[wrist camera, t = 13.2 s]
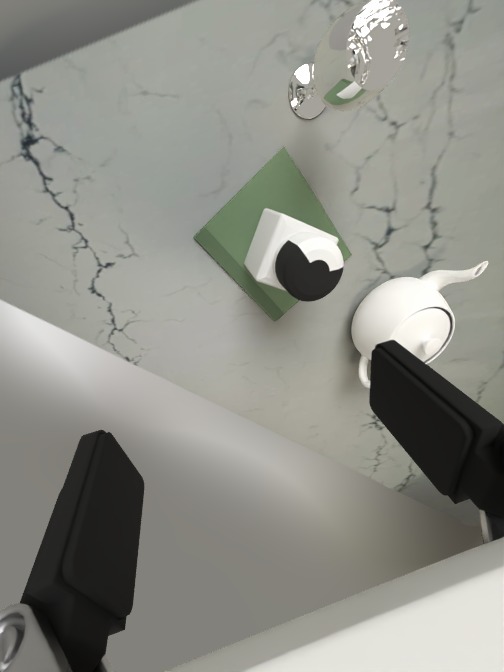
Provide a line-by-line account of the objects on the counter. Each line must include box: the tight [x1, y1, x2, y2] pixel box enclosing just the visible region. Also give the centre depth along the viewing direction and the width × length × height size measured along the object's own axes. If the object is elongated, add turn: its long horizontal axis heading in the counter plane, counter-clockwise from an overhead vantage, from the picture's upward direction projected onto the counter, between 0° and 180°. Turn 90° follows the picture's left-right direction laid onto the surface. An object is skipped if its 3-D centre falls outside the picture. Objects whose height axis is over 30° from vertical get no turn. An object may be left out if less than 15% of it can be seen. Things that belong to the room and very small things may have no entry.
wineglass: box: [289, 0, 409, 119], centre depth 24 cm, size 6×6×12 cm
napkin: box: [194, 147, 352, 321], centre depth 36 cm, size 16×14×1 cm
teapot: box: [351, 261, 488, 388], centre depth 40 cm, size 22×14×11 cm, turn 150°
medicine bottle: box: [244, 208, 343, 301], centre depth 31 cm, size 7×7×12 cm
